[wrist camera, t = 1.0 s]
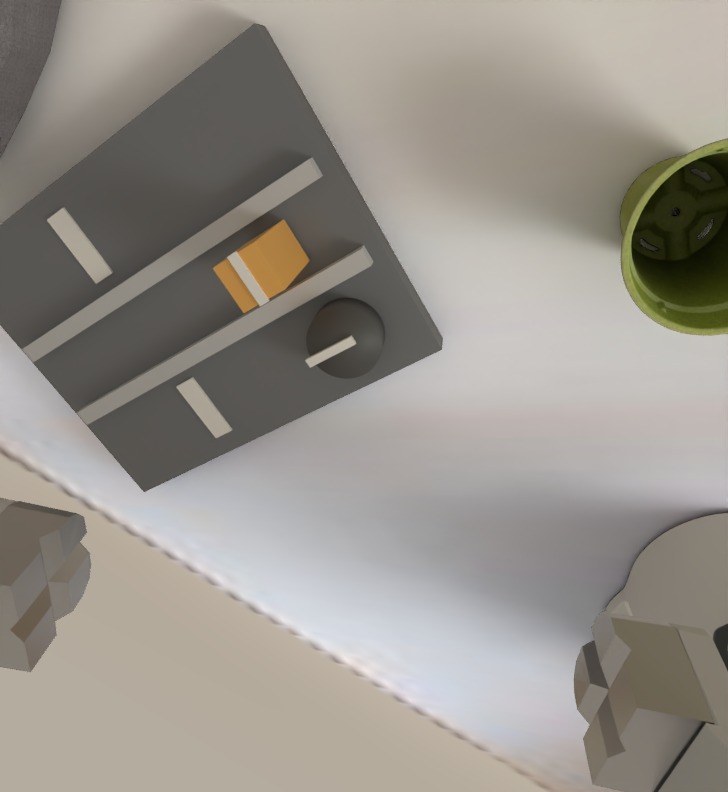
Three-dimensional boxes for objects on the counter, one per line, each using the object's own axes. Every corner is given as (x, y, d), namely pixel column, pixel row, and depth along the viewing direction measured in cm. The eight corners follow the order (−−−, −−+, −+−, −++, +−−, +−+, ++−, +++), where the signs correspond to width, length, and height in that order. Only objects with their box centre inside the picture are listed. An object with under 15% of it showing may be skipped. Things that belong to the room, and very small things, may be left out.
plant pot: (559, 244, 38) (583, 285, 30) (654, 93, 34) (710, 98, 26) (685, 309, 39) (739, 365, 31) (795, 170, 34) (890, 196, 27)
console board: (442, 338, 42) (440, 363, 38) (154, 478, 52) (130, 509, 48) (265, 26, 35) (241, 20, 31) (-31, 258, 45) (-77, 274, 41)
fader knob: (310, 261, 39) (285, 291, 33) (273, 283, 40) (243, 315, 34) (283, 217, 38) (252, 240, 32) (245, 241, 39) (210, 267, 33)
